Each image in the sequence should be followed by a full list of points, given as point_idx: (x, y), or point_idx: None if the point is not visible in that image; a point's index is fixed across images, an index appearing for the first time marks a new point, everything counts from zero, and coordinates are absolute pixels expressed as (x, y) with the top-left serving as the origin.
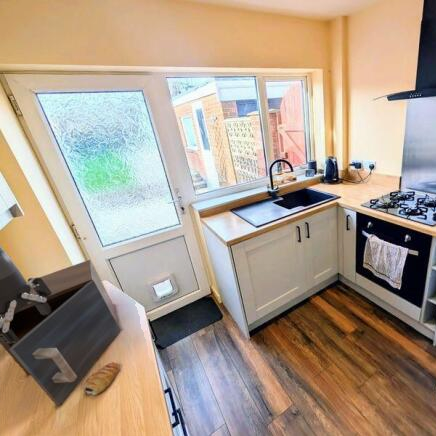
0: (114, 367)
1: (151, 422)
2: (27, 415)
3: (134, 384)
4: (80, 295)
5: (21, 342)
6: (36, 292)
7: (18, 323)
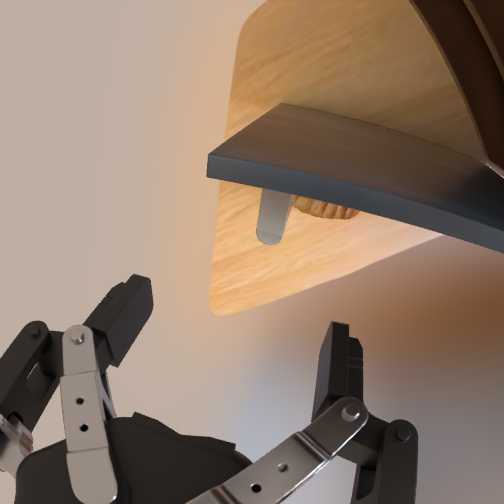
0: (341, 218)
1: (221, 301)
2: (269, 44)
3: (296, 258)
4: None
5: (246, 184)
6: (381, 464)
7: None
